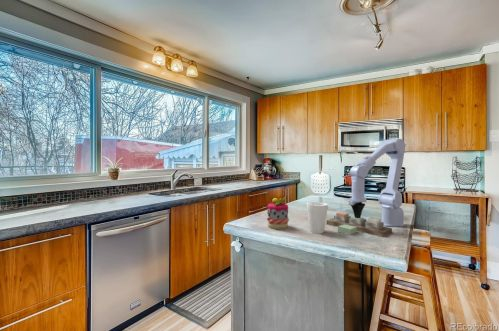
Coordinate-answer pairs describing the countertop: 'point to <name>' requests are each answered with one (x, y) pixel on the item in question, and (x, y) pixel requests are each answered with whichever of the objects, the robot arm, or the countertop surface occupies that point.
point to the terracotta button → (342, 214)
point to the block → (347, 229)
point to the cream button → (374, 220)
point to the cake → (278, 214)
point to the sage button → (357, 218)
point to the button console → (361, 225)
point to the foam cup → (317, 216)
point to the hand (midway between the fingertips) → (357, 217)
